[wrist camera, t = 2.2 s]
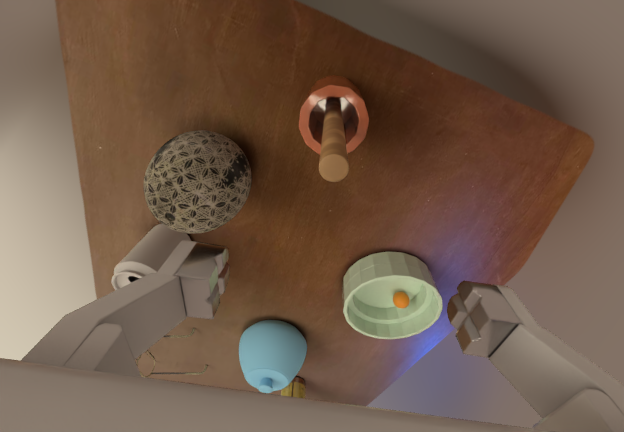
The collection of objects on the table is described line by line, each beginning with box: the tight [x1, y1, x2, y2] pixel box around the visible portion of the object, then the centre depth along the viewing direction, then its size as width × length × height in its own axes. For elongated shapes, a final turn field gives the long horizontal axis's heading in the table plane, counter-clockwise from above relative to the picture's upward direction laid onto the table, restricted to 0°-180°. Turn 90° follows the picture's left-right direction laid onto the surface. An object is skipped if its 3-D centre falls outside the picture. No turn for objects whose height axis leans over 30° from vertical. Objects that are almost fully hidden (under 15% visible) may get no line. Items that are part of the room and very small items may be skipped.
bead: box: [393, 292, 410, 309], centre depth 51 cm, size 3×3×3 cm
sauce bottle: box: [281, 377, 305, 398], centre depth 65 cm, size 7×6×20 cm
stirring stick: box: [319, 98, 349, 182], centre depth 27 cm, size 2×2×20 cm
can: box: [112, 224, 191, 290], centre depth 44 cm, size 8×8×12 cm
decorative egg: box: [144, 130, 252, 233], centre depth 34 cm, size 12×12×15 cm
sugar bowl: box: [239, 320, 307, 393], centre depth 59 cm, size 15×15×12 cm
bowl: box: [342, 251, 442, 339], centre depth 49 cm, size 16×16×6 cm
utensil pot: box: [299, 75, 369, 154], centre depth 32 cm, size 7×7×9 cm
